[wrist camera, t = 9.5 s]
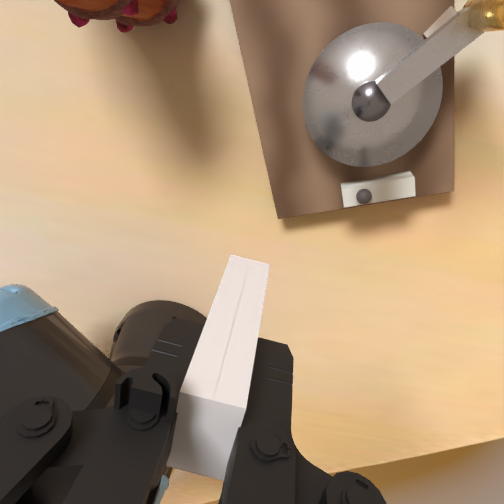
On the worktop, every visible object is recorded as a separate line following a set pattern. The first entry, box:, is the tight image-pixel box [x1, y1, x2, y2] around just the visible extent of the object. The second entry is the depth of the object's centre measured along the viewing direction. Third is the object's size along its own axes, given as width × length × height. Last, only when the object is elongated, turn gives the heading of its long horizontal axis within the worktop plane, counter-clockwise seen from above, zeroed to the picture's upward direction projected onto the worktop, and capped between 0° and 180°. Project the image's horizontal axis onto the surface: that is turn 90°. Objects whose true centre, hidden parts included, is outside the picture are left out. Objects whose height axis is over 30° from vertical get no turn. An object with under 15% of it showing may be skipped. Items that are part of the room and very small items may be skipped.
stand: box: [230, 0, 457, 219], centre depth 32 cm, size 17×24×5 cm
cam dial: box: [303, 0, 504, 167], centre depth 27 cm, size 16×11×11 cm
